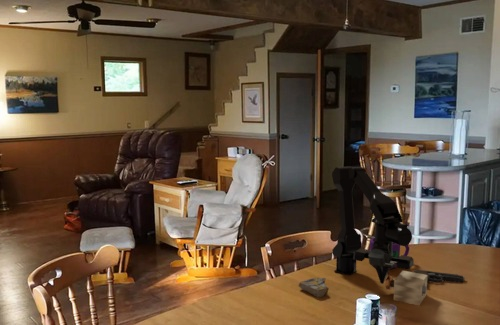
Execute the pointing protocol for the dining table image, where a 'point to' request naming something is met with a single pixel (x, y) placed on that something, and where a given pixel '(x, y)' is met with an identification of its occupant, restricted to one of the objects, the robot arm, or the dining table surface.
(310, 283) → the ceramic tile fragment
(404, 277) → the block
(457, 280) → the handgun
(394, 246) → the mug
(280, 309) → the dining table surface
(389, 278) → the pin
